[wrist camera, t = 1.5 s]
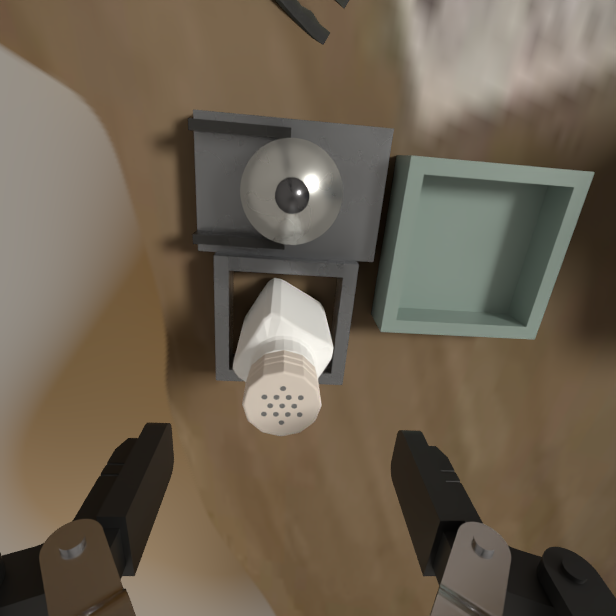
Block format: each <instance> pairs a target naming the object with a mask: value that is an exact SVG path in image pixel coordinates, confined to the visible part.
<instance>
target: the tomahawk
mask: <svg viewBox="0 0 616 616" xmlns="http://www.w3.org/2000/svg"><path fill="white" fill-rule="evenodd" d="M275 1H276V2H277V3H278V4H279V5H280V6H281V8H282V9H283V10H284V11H285V12H286V13H287V14H288V15H289V16H290V17H291V18H292V19H293V20H294V21H295V22H296V23H297V24H298V25H299V26H300V27H301V28H302V29H303V30H304V31H305V32H306V33H307V34H309V35H310V36H311V37H312V38H313V39H315V40H316V41H318V42H319V43H321V44H324V43H325V41H326V39H327V38H328V36H329V34H330V32H329V31H328V30H326V29H325V28H324V27H322V26H321V25H320V24H319V22H318V21H317V19H316V18H315V16H314V14H313V13H312V12H311V11H310V10H308V9H306V8H304V7H303V6H301V5H300V3H299V2H298V1H297V0H275ZM336 1H337V2H338V3H339V4H340V5H341V6H342V7H343V8H345V7H346V5H347V3H348V2H349V0H336Z"/></svg>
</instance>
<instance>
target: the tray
mask: <svg viewBox="0 0 616 616" xmlns="http://www.w3.org/2000/svg"><path fill="white" fill-rule="evenodd" d="M594 173H595V172H588V171H577V170H566V169H555V168H544V167H533V166H522V165H510V164H499V163H488V162H477V161H466V160H455V159H444V158H433V157H421V156H403V155H397V156H396V162H395V169H394V175H393V181H392V187H391V193H390V200H389V206H388V212H387V218H386V225H385V231H384V237H383V243H382V249H381V256H380V262H379V268H378V274H377V281H376V287H375V293H374V299H373V305H372V312H371V315H372V317H373V319H374V320H375V322H376V324H377V326H378V328H379V330H380V332H393V333H414V334H434V335H455V336H475V337H496V338H516V339H535V337H536V334H537V332H538V329H539V326H540V323H541V320H542V318H543V315H544V312H545V309H546V307H547V304H548V301H549V298H550V295H551V293H552V290H553V287H554V284H555V281H556V279H557V276H558V273H559V270H560V268H561V265H562V262H563V259H564V256H565V254H566V251H567V248H568V245H569V243H570V240H571V237H572V234H573V231H574V229H575V226H576V223H577V220H578V217H579V215H580V212H581V209H582V206H583V204H584V201H585V198H586V195H587V192H588V190H589V187H590V184H591V181H592V178H593V176H594Z"/></svg>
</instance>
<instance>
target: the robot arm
mask: <svg viewBox="0 0 616 616" xmlns="http://www.w3.org/2000/svg"><path fill="white" fill-rule="evenodd" d="M173 463H174V453H173V441H172V428H171V424H170V423H147V424H146V425H145V426H144V428H143V430H142V432H141V434H140V436H139V438H128V439H127V440H126V441H124V442H123V443H122V444H121V445H120V446H119V447H117V448H116V449H115V451H114V452H113V454H112V456H111V457H110V459H109V461H108V463H107V465H106V466H105V468H104V469H103V471H102V472H101V476H99V478H98V479H97V481H96V483H95V485H94V486H93V488H92V489H91V491H90V493H89V494H88V496H87V498H86V499H85V501H84V503H83V505H82V506H81V508H80V510H79V511H78V513H77V515H76V517H75V518H74V520H73V521H72V522H70V523H67V524H65V525H64V526H62V527H60V528H59V529H57V530H56V531H55V532H54V533H53V534H52V535H50V536H49V537H48V539H47V540H46V541H45V543H43V544H41V545H38V546H35V547H32V548H28V549H25V550H21V551H17V552H14V553H10V554H7V555H3V556H1V553H0V616H136V615H135V612H134V610H133V606H132V604H131V601H130V598H129V595H128V593H127V591H126V589H124V588H123V586H122V583H121V577H122V576H135V573H136V571H137V568H138V565H139V562H140V560H141V557H142V554H143V552H144V549H145V546H146V543H147V541H148V538H149V535H150V532H151V530H152V527H153V524H154V521H155V519H156V516H157V513H158V511H159V508H160V505H161V502H162V500H163V497H164V494H165V491H166V489H167V486H168V483H169V481H170V478H171V474H172V470H173ZM391 477H392V481H393V485H394V488H395V491H396V494H397V497H398V500H399V503H400V506H401V509H402V512H403V515H404V518H405V521H406V524H407V527H408V531H409V534H410V537H411V540H412V543H413V546H414V549H415V552H416V555H417V558H418V561H419V564H420V567H421V570H422V574H423V576H436V578H437V581H438V584H439V589H438V592H437V595H436V598H435V601H434V604H433V607H432V610H431V614H430V616H616V598H615V597H614V595H613V594H612V592H611V591H610V590H609V588H608V587H607V585H606V584H605V582H604V581H603V579H602V578H601V577H600V575H599V574H598V572H597V571H596V570H595V569H594V568H593V567H592V566H591V565H590V564H589V563H588V562H587V561H586V560H585V559H583V558H582V557H581V556H579V555H578V554H576V553H574V552H572V551H570V550H568V549H565V548H561V547H550V548H548V549H546V550H545V552H544V554H543V556H542V557H540V556H536V555H533V554H530V553H527V552H524V551H520V550H517V549H514V548H512V547H510V546H508V545H507V543H506V542H505V540H504V539H503V538H502V537H501V536H500V535H499V534H498V533H497V532H496V531H495V530H493V529H492V528H490V527H488V526H486V525H484V524H483V523H482V521H481V519H480V517H479V515H478V513H477V512H476V510H475V508H474V506H473V504H472V502H471V500H470V498H469V497H468V495H467V493H466V491H465V489H464V487H463V485H462V484H461V483H460V480H459V478H458V476H457V474H456V473H455V472H454V469H453V467H452V465H451V463H450V461H449V459H448V457H447V456H446V455H444V454H443V453H442V452H441V451H440V450H439V449H438V448H437V447H436V446H428V444H427V442H426V440H425V438H424V435H423V434H422V432H421V431H408V430H399V431H398V433H397V438H396V442H395V447H394V452H393V456H392V461H391Z"/></svg>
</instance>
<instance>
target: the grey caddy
mask: <svg viewBox="0 0 616 616" xmlns="http://www.w3.org/2000/svg"><path fill="white" fill-rule="evenodd" d="M188 130H191V131H194V149H195V177H196V205H197V231H196V232H195V233H193V244H198V251H210V252H216V253H215V254H214V301H215V354H216V380H223V381H243V380H242V379H240V378H239V377H238V376H237V374H236V373H235V372H234V370H233V361H234V357H235V354H233V271H243V272H259V273H276V274H292V275H309V276H325V277H337V284H336V293H335V302H334V310H333V319H332V327H331V339H332V343H333V347H334V349H333V354H332V359H331V360H330V362H329V363H328V365H327V366H326V368H325V369H324V371H323V372H322V374H321V375H320V376H319V378H318V383H319V384H333V385H342V383H343V376H344V369H345V362H346V354H347V347H348V340H349V333H350V326H351V318H352V311H353V304H354V297H355V290H356V282H357V275H358V268H359V264H358V263H357V261H364V262H373V261H374V254H375V248H376V241H377V235H378V228H379V222H380V215H381V209H382V203H383V196H384V190H385V183H386V177H387V170H388V164H389V157H390V151H391V144H392V138H393V131H394V129H391V128H380V127H370V126H359V125H349V124H338V123H328V122H317V121H307V120H297V119H286V118H276V117H265V116H255V115H244V114H234V113H223V112H213V111H202V110H193V118H188Z"/></svg>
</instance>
